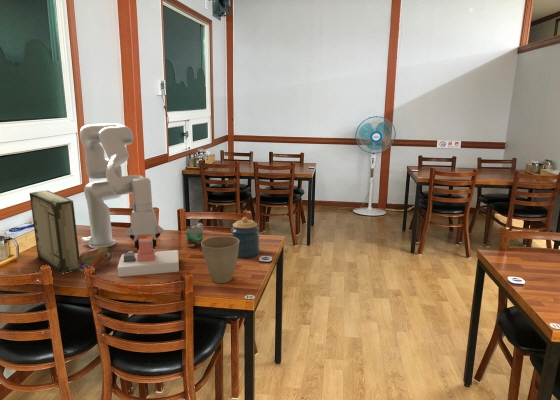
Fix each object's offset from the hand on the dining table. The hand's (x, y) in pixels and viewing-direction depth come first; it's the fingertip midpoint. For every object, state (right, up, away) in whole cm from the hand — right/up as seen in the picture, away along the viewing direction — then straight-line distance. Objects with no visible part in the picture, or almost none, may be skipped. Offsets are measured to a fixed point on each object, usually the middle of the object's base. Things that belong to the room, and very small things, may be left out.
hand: (146, 248), depth 186 cm
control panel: (-41, -8, +7) cm, 42 cm away
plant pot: (+34, -11, -11) cm, 37 cm away
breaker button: (-7, -7, 0) cm, 10 cm away
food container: (+16, -2, +31) cm, 35 cm away
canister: (+41, -5, +18) cm, 45 cm away
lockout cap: (0, -4, +1) cm, 5 cm away
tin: (-22, -9, +2) cm, 24 cm away
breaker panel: (+1, -8, +2) cm, 9 cm away
